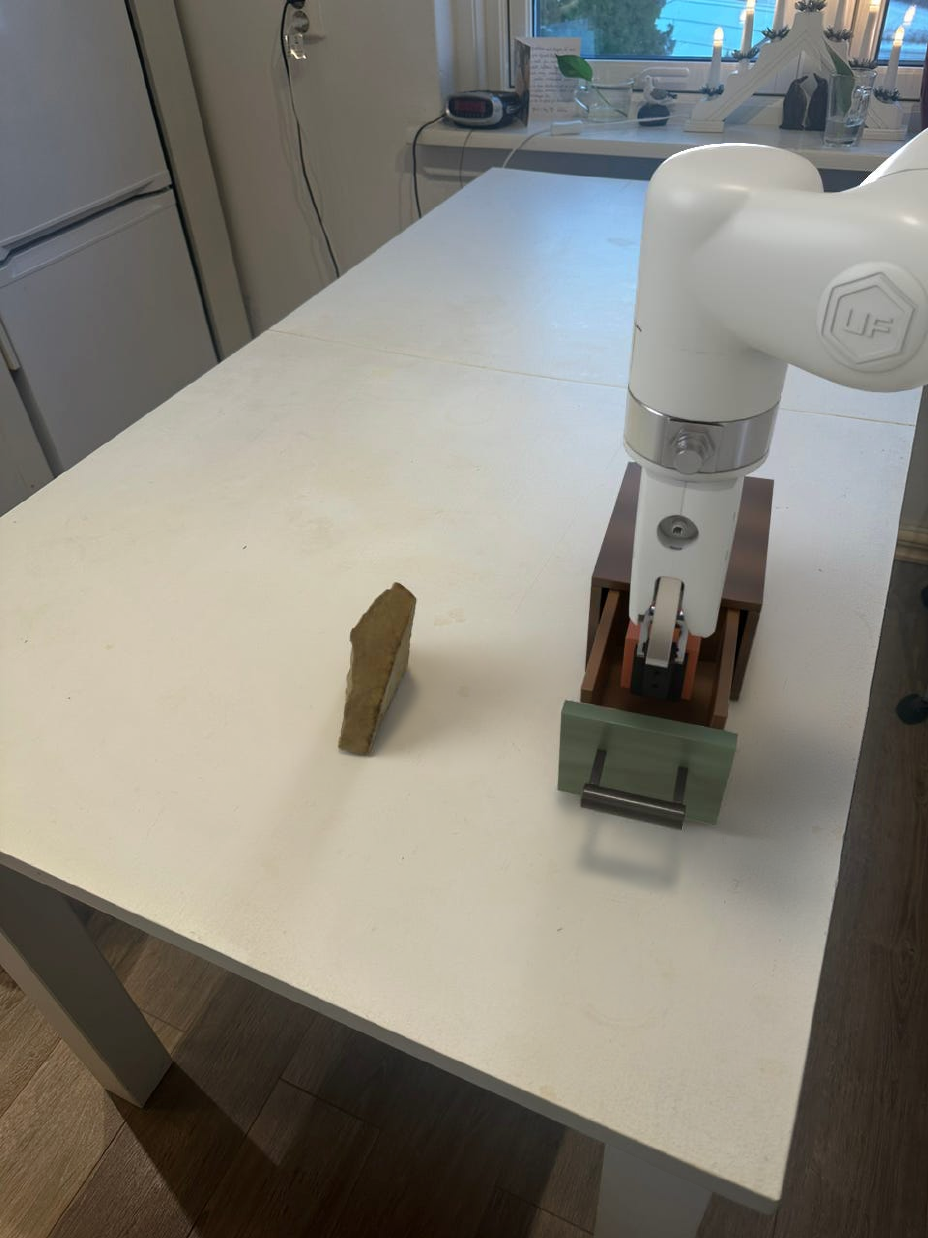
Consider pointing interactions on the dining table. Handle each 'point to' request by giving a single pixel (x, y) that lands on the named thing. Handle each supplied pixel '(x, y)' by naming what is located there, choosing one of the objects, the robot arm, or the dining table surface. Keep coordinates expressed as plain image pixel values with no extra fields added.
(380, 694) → the rock
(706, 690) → the drawer
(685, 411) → the robot arm
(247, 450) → the dining table surface
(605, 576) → the cabinet
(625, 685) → the block
